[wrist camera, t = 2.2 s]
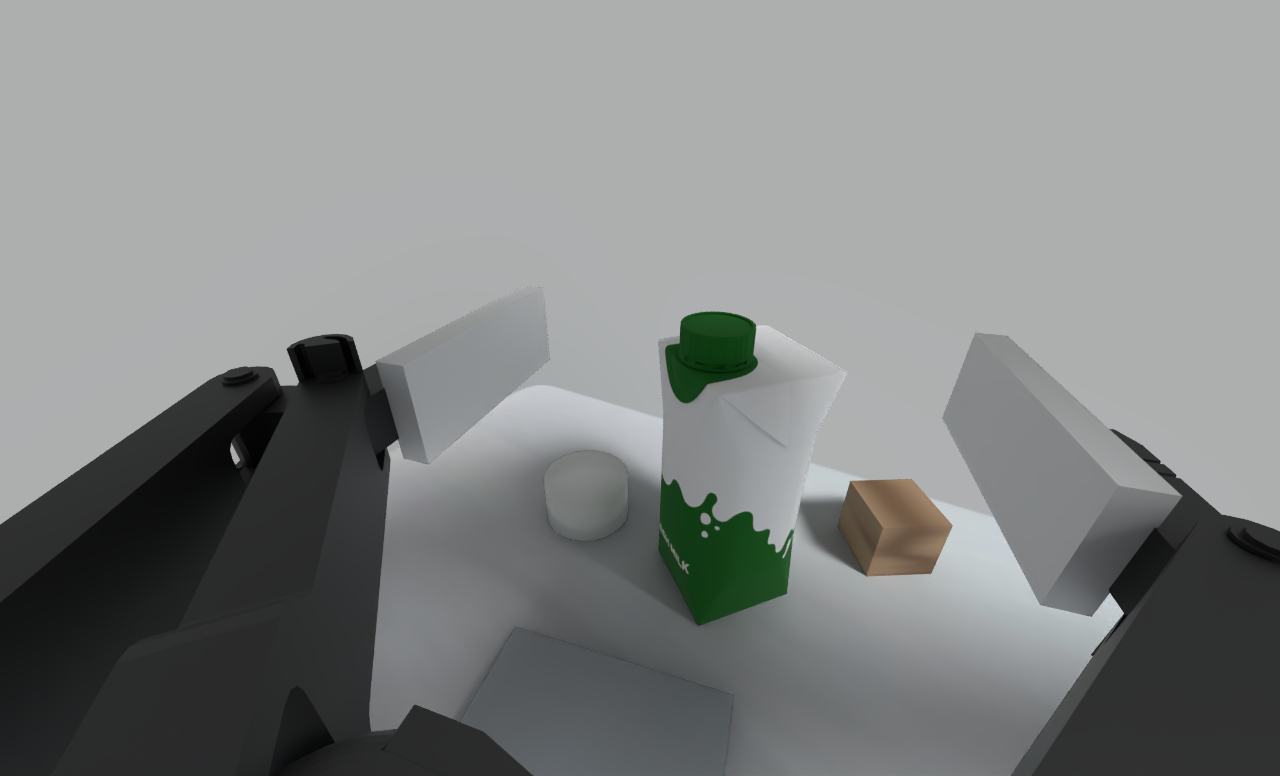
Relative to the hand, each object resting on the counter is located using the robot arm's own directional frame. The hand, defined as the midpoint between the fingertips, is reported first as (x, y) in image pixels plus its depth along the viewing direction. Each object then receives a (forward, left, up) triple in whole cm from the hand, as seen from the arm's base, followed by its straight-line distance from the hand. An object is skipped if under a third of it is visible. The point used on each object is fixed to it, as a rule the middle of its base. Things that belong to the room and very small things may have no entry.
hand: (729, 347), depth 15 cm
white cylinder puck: (+12, -14, -23) cm, 29 cm away
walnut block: (-12, -17, -23) cm, 31 cm away
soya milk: (0, -11, -23) cm, 25 cm away
